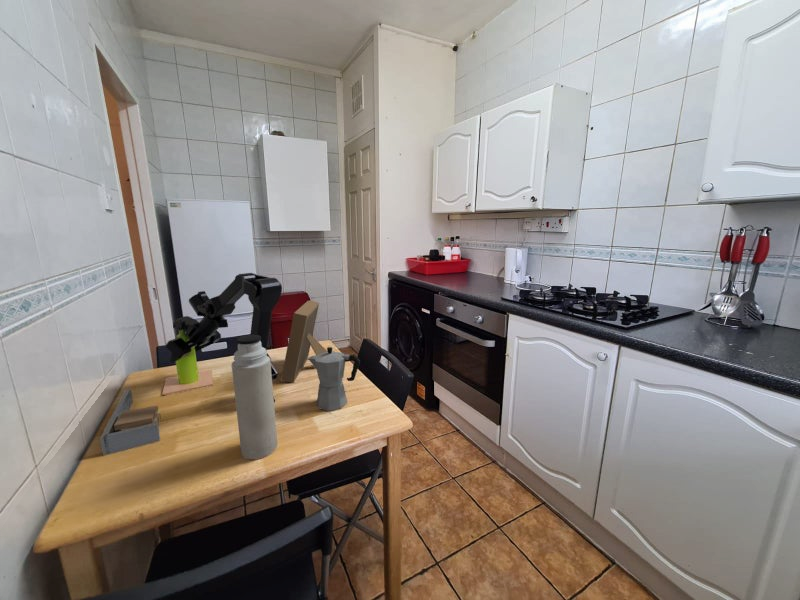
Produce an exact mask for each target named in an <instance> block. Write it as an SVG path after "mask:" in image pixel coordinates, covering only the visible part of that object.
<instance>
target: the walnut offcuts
mask: <svg viewBox="0 0 800 600" xmlns="http://www.w3.org/2000/svg"><path fill="white" fill-rule="evenodd" d="M158 411H159V408H158V405H153V406H146V407H142V408H136V409H132V410H131V409H130V410H129V411H126V412H122V414H121V415H120V417H119V418H118V420H117V421H116V423H115V424H114V430H115V431H116V430H119V431H123V430H127V429H131V428H136V427H140V426H144V425H148V424H153V423H157V422H158V427H160V422H161V417H162V416H161V412H158Z"/></svg>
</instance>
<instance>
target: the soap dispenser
mask: <svg viewBox="0 0 800 600" xmlns="http://www.w3.org/2000/svg"><path fill="white" fill-rule="evenodd" d="M185 333H186V332H183V331H181V330H180V331H178V334H177V335H176V338H182V339H183V340H184V341H185V342H187V341H189V339H188V338H189V337H186V336H185V335H184V334H185ZM197 362H198V361H197V355H196V352H195V347H192V348H191V352H190V353H189V354H188V356H186V357H183V358H181V359H179V360H177V361H175V366H176V372H177V373H176V374H177V376H178V380H179V384H190V383H193V382H196V381H197V380H198V379H199V376H198V372H199V369H198V363H197Z"/></svg>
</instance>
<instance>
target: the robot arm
mask: <svg viewBox="0 0 800 600" xmlns="http://www.w3.org/2000/svg"><path fill="white" fill-rule="evenodd" d="M282 291H283V287H282V283H281V282H280V281H279V280H278V279H277V277H276V278H275V277H269V276H265V275H259V274H255V273H254V272H253V273H252V272H246V273H238V274H237V275H235V278H234V280H233V281H231V283H230V284H228V285H227V287H226V288H225V289H224V290H223V291H222V292H221V293H220V294H219V295H217V296H213V297H211V298H209V297H210V296H208V295H207V293H206V291H205V290H203V291H202V290H201V291H198V292H197V293H196V294H194V295H192V296H191V297H190V298H188V304H189V305H190V306H191V307H192V309H193V311H194V312H195V314H196V315H197V317H202V319H201V320H200V321H198V320H197V319H195V318H193V317H191V316H188V315H186V316H181V317H179V318H177V319H176V320H174V322H173V323H172V328H173V329H175V330H177V331H178V332H179V331H180V330H181V331H183V332H185V334H184V335H185V336H186V337H189V338H188V339H189V341H187V342H185V341H184V340H183V339H182V338H177V337H176V338H173V339H170V340H168V341H167V342H166V344H165V348H166V349H168V351H170V353H171V354H170V357H169V358H170V359H169V361H170V363H176V361H177V360H179V359H181V358H183V357H186V356H188V354H189V353H190V352H191V348H192V347H195V353H196V352H198V351H200V350H202V349H205V348H207V347H209V346H211V345H214V344H215V343H217V342H218V341H220V340H221V338H222V334H221V333H220V332H219V331H218V330H219V329H223V328H228V327H229V324H228V319H227V318H225V317H226V316H228V315H232V313H233V312H234V310H235V309H236V303H237V302H238V301H239V300H240V299H241V298H242V297H243V296H244V295H247V298H248V301H249V302H250V303H251V305H252V307H253V309H252V317H251V326H250V333H249V335H259V336H261V340H260V341H261V345H262V347H263V348H265V349H266V351H267V350H268V342H269V334H270V329H271V320H272V315H273V309H274V308H275V307H276V305H277V304H278V303H279V301H280V299H281V297H282V296H281V295H282V293H283V292H282ZM224 316H225V317H224ZM266 355H267V356H268V357H269V358H270V363H271V375H272V381H275V380H277V379H278V375H279V373H278V371H277V370H276V369H275V367H274V365H273V364H272V358H271V357H270V355H269V353H268V351H267V354H266ZM273 398H274V403H275V402H276V400H275V397H274V396H273Z"/></svg>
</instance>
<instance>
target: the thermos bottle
mask: <svg viewBox="0 0 800 600" xmlns="http://www.w3.org/2000/svg"><path fill="white" fill-rule="evenodd" d="M260 340H261V336H259V335H250V334H247V335H242V336H240V337H238V338H236V344H237V350H236V351H235V352H234V353H233V356H234V357H233V360H234V361H232V362H231V373H232V379H233V380H232V381H233V388H234V389H233V390H234V400H235V408H236V409H235V410H236V417H237V426H238V435H239V436H238V437H239V443H240V444H239V445H240V453H241V456H242V457H243V459H246V460H249V459H255V460H259V458H261V459H263V457H264V458H266V457H268V456H270V455H271V454H273V453H272V452H273V451H274V450H275V451H276V449H277V448H278V436H277V434H278V433H277V424H276V423H277V422H276V411H275V410H276V409H275V402H274V399H275V397H274V388H273V380H272V375H271V364H272V362H271V363H270V358H271V357H270V358H269V357H268V356H267V355H266V354H267V353H268V351H266V349H265V348H263V347H262V345H261V341H260ZM273 397H274V398H273ZM275 451H274V452H275ZM265 456H266V457H265Z"/></svg>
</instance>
